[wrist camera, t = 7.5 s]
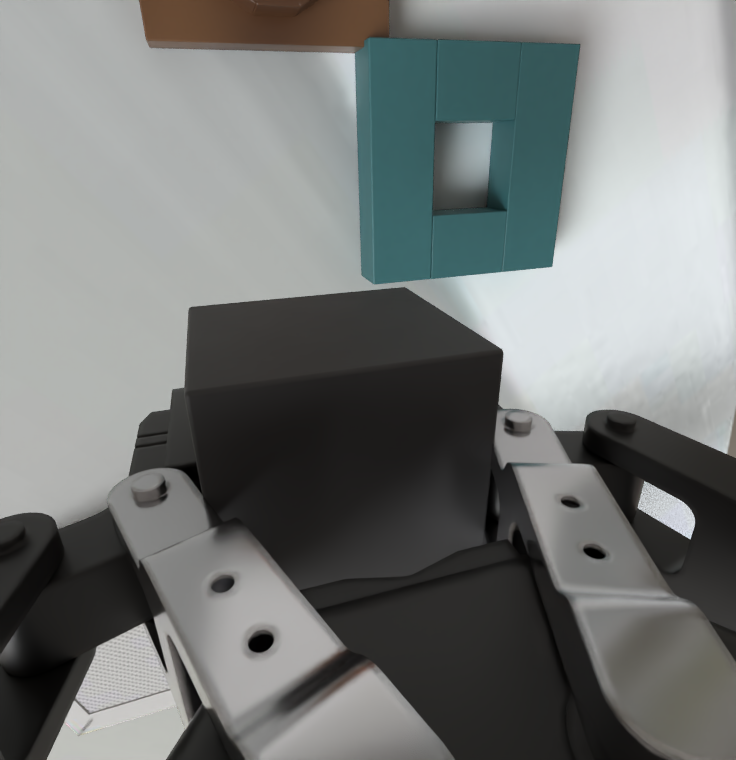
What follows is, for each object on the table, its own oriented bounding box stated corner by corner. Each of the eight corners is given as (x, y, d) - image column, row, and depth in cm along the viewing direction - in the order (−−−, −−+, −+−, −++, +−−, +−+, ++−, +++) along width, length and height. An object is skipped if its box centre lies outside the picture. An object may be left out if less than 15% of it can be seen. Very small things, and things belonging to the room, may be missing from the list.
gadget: (304, 431, 33) (315, 461, 30) (368, 580, 40) (382, 617, 37) (-53, 583, 30) (-83, 634, 27) (84, 715, 37) (73, 768, 34)
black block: (220, 474, 15) (236, 682, 9) (189, 280, 13) (183, 393, 7) (375, 446, 17) (477, 613, 11) (373, 265, 14) (506, 349, 8)
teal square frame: (361, 275, 30) (373, 284, 28) (354, 46, 25) (368, 36, 23) (530, 259, 33) (552, 267, 31) (552, 52, 28) (581, 43, 26)
